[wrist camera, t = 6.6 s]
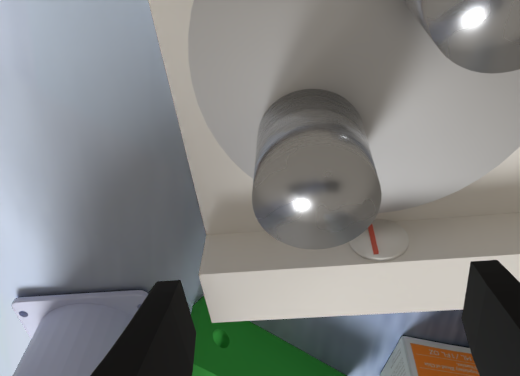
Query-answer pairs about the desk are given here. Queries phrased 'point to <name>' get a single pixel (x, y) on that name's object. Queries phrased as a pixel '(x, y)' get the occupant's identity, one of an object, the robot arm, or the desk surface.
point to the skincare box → (429, 359)
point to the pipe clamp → (247, 350)
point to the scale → (380, 142)
